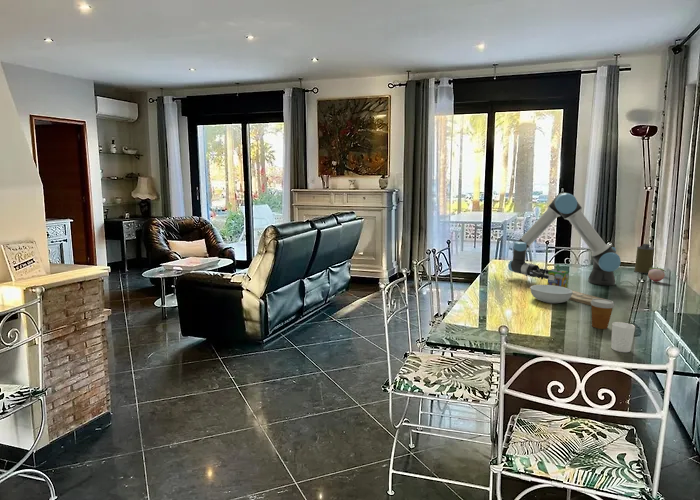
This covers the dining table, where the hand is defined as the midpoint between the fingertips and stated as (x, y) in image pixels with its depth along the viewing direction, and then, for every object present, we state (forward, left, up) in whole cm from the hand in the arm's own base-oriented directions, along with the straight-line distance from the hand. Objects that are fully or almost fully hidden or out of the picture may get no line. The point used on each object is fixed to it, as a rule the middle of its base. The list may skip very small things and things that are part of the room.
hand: (560, 277), depth 290 cm
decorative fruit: (-80, +9, -8) cm, 81 cm away
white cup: (+59, +75, -8) cm, 96 cm away
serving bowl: (+24, +13, -8) cm, 29 cm away
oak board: (+4, +16, -8) cm, 18 cm away
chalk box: (0, -2, -8) cm, 8 cm away
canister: (-104, -14, -8) cm, 105 cm away
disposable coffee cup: (+40, +53, -8) cm, 67 cm away
